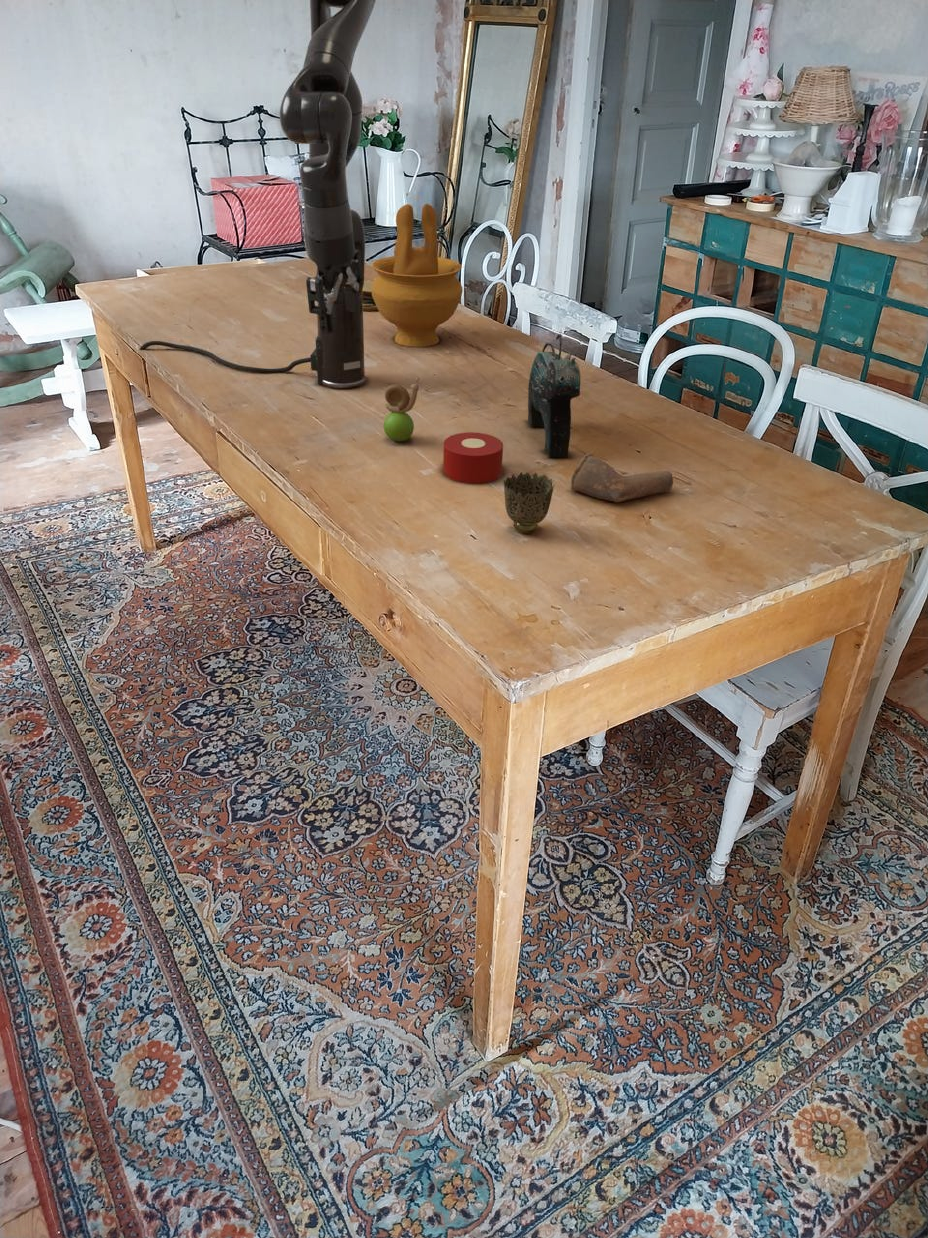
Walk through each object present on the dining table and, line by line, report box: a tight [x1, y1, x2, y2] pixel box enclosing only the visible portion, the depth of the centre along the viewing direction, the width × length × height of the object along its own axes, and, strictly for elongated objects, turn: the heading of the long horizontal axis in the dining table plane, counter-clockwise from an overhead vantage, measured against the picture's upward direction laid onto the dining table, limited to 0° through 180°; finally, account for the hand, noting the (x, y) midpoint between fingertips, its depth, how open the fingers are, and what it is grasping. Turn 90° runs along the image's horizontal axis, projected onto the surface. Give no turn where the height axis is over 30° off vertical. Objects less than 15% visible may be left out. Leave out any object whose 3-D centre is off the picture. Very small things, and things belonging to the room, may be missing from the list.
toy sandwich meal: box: [363, 279, 379, 312], centre depth 244 cm, size 12×14×5 cm
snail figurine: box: [383, 376, 420, 442], centre depth 166 cm, size 5×6×12 cm
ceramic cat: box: [527, 333, 581, 459], centre depth 167 cm, size 20×6×20 cm, turn 9°
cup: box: [503, 471, 555, 535], centre depth 140 cm, size 8×7×8 cm
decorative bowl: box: [371, 203, 463, 348], centre depth 213 cm, size 21×21×30 cm
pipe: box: [570, 453, 674, 503], centre depth 153 cm, size 6×17×10 cm
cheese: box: [442, 431, 504, 484], centre depth 158 cm, size 10×10×5 cm
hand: (340, 321), depth 163 cm, fingers open, 8 cm apart
